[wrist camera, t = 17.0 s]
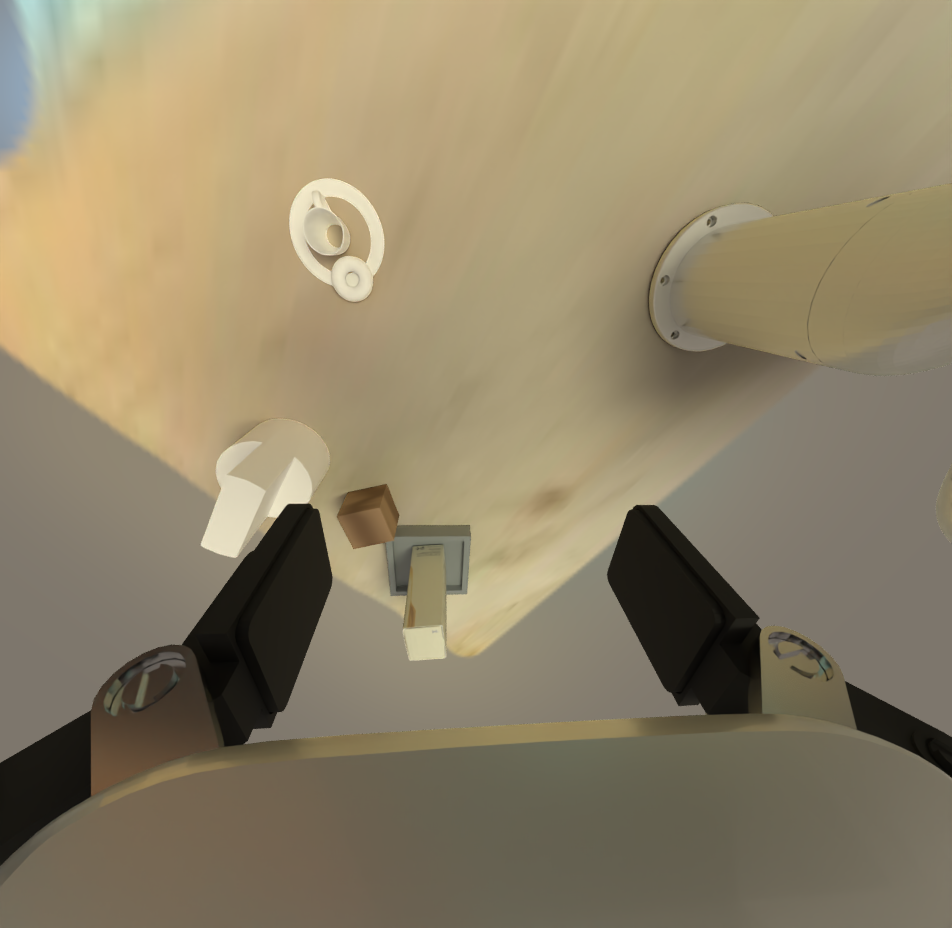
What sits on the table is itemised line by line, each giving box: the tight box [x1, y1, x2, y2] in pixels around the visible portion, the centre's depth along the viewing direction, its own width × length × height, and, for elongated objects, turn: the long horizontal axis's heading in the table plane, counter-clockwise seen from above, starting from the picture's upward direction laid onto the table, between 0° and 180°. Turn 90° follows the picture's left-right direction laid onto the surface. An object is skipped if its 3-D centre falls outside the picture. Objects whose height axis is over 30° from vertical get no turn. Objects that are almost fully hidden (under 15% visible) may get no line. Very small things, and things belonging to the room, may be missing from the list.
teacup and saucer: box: [289, 178, 384, 302], centre depth 28 cm, size 9×8×4 cm
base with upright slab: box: [201, 418, 330, 557], centre depth 34 cm, size 9×9×12 cm
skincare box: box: [403, 545, 446, 661], centre depth 42 cm, size 6×4×12 cm
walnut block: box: [337, 484, 399, 549], centre depth 41 cm, size 5×5×5 cm
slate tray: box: [386, 526, 471, 596], centre depth 47 cm, size 11×11×2 cm
